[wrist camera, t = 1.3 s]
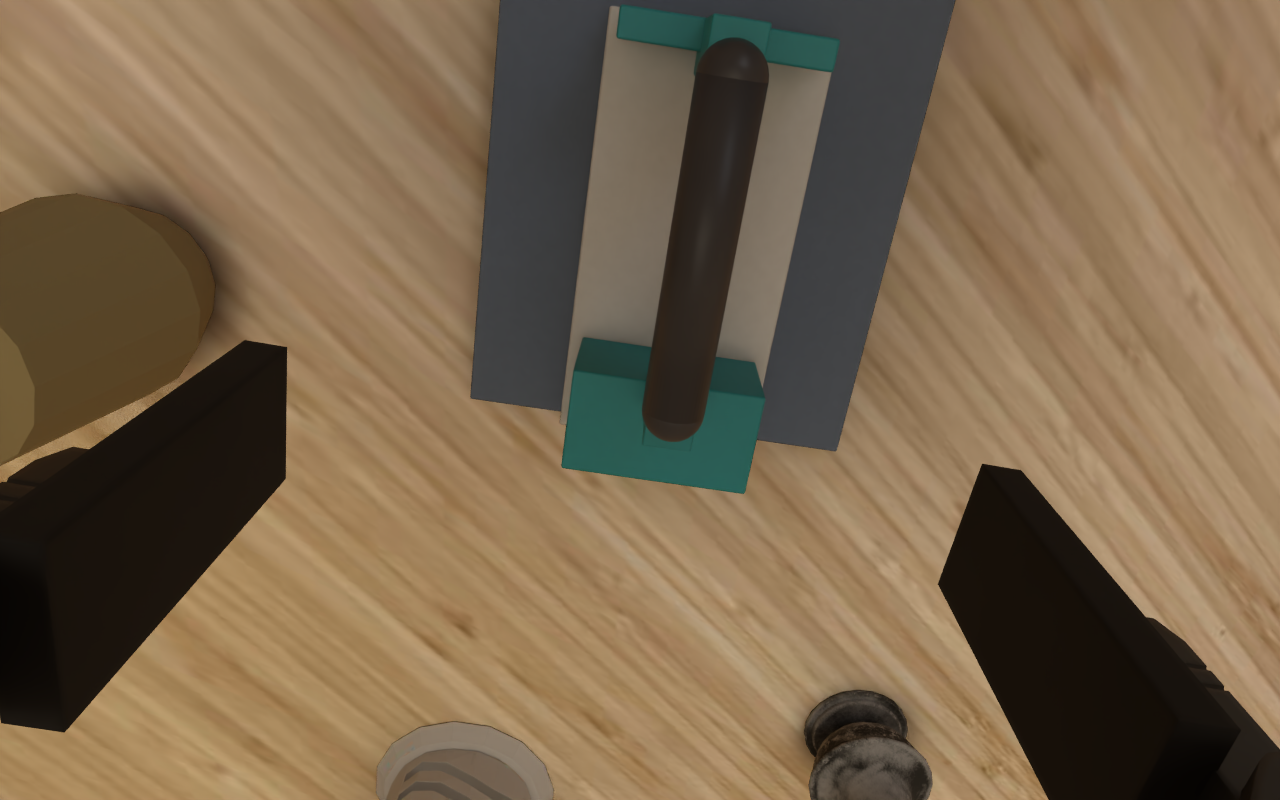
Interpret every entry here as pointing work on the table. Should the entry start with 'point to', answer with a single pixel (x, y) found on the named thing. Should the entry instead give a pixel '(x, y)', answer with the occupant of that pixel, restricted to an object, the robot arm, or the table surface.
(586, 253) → the iron
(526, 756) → the french press
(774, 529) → the table surface
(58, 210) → the squeeze bottle
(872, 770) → the salt shaker
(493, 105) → the ironing mat
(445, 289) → the table surface
